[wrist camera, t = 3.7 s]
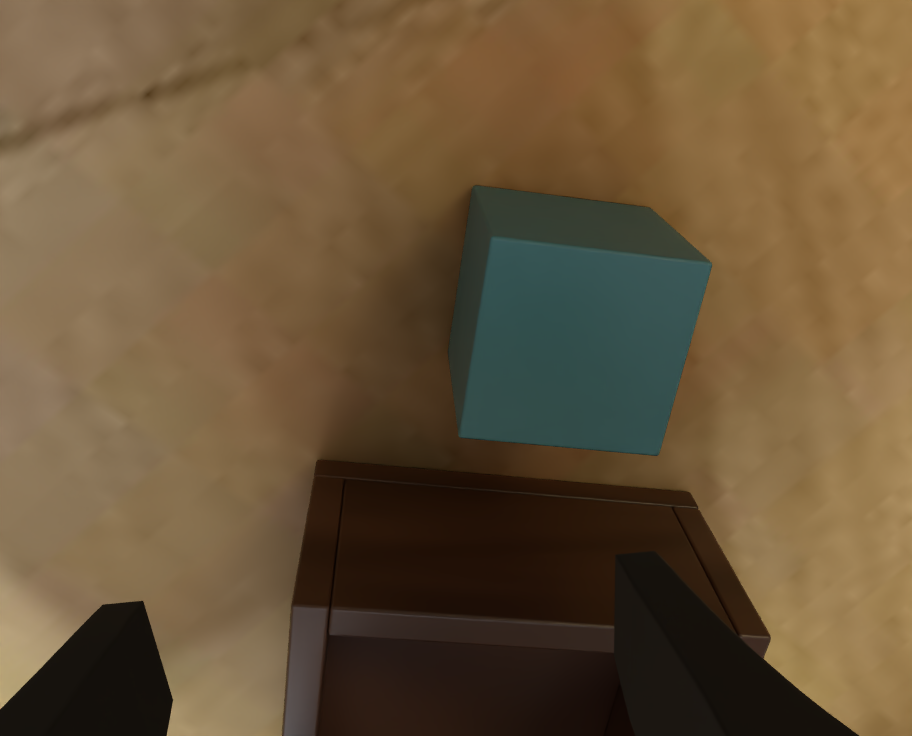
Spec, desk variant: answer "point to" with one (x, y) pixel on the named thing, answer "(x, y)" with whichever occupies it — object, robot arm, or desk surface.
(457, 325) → the block
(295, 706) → the box
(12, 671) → the desk surface
